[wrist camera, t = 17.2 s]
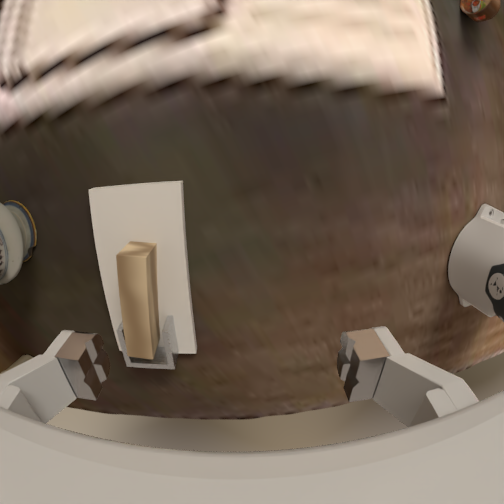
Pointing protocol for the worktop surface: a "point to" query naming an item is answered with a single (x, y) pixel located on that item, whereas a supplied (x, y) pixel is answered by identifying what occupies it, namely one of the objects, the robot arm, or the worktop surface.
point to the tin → (480, 9)
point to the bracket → (168, 260)
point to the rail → (139, 298)
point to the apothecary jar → (15, 239)
